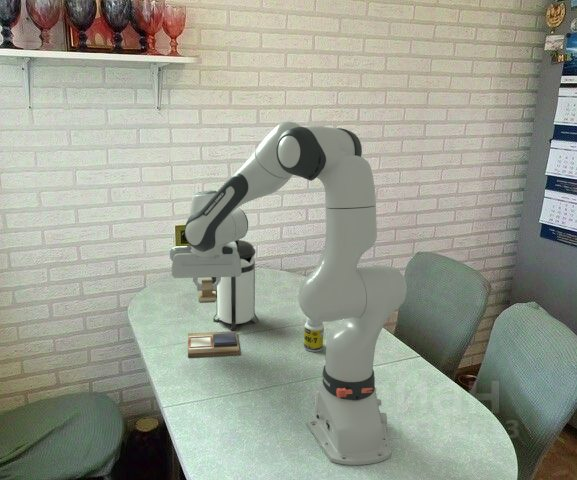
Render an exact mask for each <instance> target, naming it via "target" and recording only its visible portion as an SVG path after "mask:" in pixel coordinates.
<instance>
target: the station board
mask: <svg viewBox="0 0 577 480" xmlns="http://www.w3.org/2000/svg"><path fill="white" fill-rule="evenodd" d="M240 353H241V351H240V345H239V340H238V333H237V330H235V331H232V330H231V331H212V332H211V331H209V332H190V333H187V357H188V358H198V357H213V356H215V357H216V356H217V357H219V356H230V355H231V356H234V355H240Z"/></svg>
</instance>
